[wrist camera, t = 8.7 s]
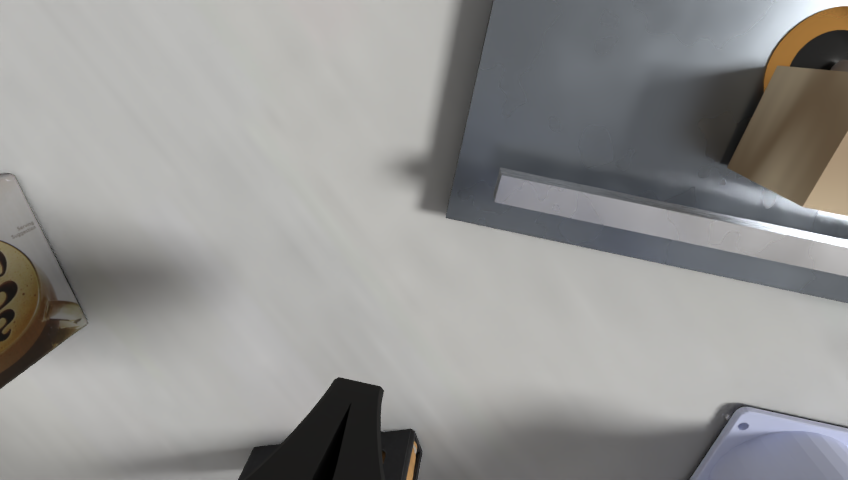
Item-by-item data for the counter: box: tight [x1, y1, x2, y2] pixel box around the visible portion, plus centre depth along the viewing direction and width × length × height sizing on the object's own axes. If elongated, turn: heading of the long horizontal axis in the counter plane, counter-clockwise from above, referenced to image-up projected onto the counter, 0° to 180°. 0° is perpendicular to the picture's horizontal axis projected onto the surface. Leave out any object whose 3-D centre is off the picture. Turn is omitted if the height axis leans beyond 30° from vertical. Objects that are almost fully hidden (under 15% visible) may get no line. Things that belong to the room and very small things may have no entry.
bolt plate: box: [446, 0, 848, 303], centre depth 16 cm, size 12×27×1 cm, turn 80°
